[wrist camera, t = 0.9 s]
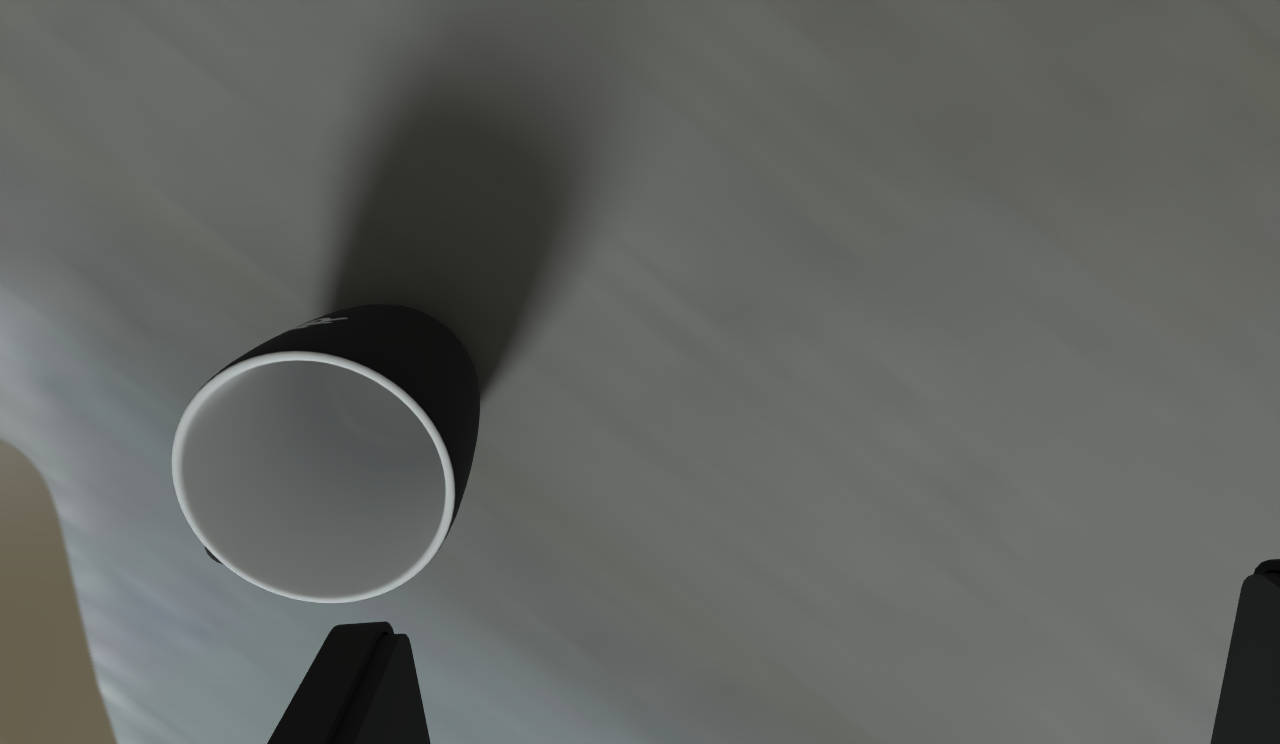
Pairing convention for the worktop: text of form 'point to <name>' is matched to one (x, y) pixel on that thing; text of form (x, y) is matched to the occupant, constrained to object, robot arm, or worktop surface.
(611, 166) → the worktop surface
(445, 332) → the mug
